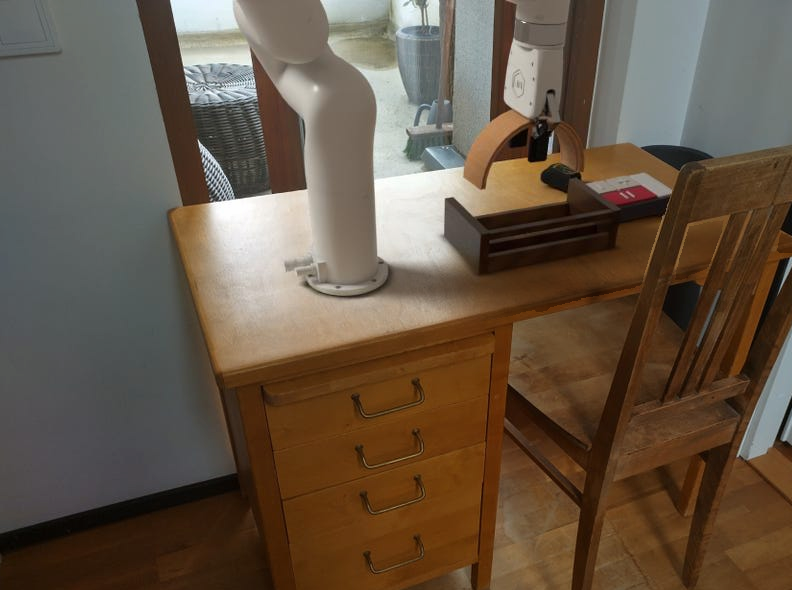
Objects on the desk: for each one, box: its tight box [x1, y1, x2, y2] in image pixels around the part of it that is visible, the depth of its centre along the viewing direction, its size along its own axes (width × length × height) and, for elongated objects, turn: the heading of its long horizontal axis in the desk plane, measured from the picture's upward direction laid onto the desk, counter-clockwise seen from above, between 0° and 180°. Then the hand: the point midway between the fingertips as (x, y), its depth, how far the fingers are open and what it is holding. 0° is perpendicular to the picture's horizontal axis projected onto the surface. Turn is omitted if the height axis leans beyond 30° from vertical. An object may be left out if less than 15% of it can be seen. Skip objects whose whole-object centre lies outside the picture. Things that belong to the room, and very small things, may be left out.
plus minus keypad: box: [585, 172, 673, 223], centre depth 133 cm, size 11×4×15 cm
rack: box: [443, 178, 621, 275], centre depth 120 cm, size 26×14×7 cm, turn 114°
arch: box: [462, 109, 585, 191], centre depth 114 cm, size 6×20×10 cm, turn 119°
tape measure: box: [540, 162, 582, 192], centre depth 140 cm, size 7×7×4 cm
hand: (526, 152), depth 114 cm, fingers closed on arch, 5 cm apart
